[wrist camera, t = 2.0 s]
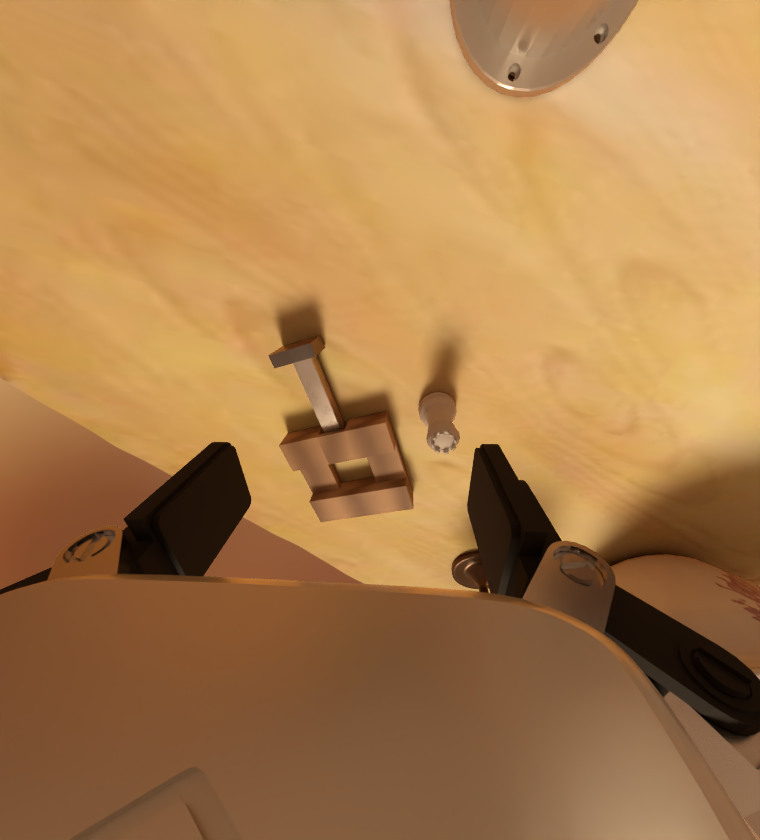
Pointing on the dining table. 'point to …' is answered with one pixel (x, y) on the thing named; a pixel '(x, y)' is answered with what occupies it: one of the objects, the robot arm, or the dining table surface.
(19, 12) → the dining table surface
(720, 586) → the chamber pot
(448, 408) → the rook chess piece
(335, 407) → the lock pin
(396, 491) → the mount
